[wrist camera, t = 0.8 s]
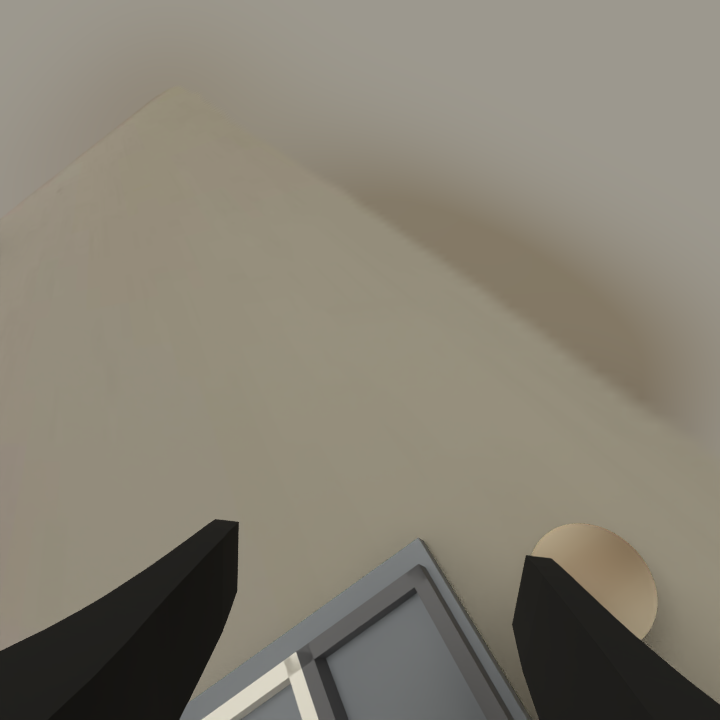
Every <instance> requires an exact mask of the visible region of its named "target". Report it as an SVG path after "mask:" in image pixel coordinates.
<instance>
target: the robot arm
mask: <svg viewBox="0 0 720 720" xmlns="http://www.w3.org/2000/svg"><path fill="white" fill-rule="evenodd" d="M238 529H239V522H235V521H226V520H217V519H215V520H214V521H212V522H211V523H209V524H208V525H206V526H205V527H204V528H202V529H201V530H200V531H198V532H197V533H195V534H194V535H193V536H191V537H190V538H189V539H187V540H186V541H185V542H183V543H182V544H181V545H179V546H178V547H176V548H175V549H174V550H172V551H171V552H169V553H168V554H167V555H165V556H164V557H162V558H161V559H160V560H158V561H157V562H155V563H154V564H153V565H151V566H150V567H148V568H147V569H145V570H144V571H142V572H141V573H139V574H138V575H136V576H135V577H133V578H131V579H130V580H128V581H127V582H125V583H124V584H122V585H121V586H119V587H118V588H116V589H115V590H113V591H112V592H110V593H108V594H107V595H105V596H104V597H102V598H100V599H99V600H97V601H95V602H94V603H92V604H90V605H88V606H87V607H85V608H83V609H82V610H80V611H78V612H76V613H74V614H73V615H71V616H69V617H67V618H65V619H63V620H62V621H60V622H58V623H56V624H54V625H52V626H51V627H49V628H47V629H45V630H43V631H41V632H39V633H37V634H35V635H32V636H30V637H28V638H26V639H24V640H22V641H20V642H18V643H16V644H14V645H12V646H10V647H8V648H6V649H4V650H2V651H0V720H180V718H181V716H182V713H183V711H184V709H185V707H186V705H187V703H188V701H189V699H190V697H191V695H192V693H193V691H194V689H195V687H196V685H197V683H198V681H199V679H200V677H201V675H202V673H203V671H204V669H205V667H206V665H207V663H208V661H209V659H210V657H211V655H212V653H213V651H214V648H215V646H216V644H217V642H218V640H219V638H220V636H221V634H222V632H223V629H224V626H225V624H226V621H227V618H228V615H229V613H230V610H231V607H232V604H233V601H234V599H235V596H236V593H237V578H238ZM512 626H513V630H514V635H515V640H516V644H517V649H518V653H519V657H520V662H521V666H522V670H523V673H524V676H525V679H526V682H527V685H528V688H529V691H530V694H531V697H532V700H533V703H534V706H535V709H536V711H537V714H538V717H539V720H720V704H718V703H717V702H716V701H714V700H713V699H712V698H710V697H709V696H708V695H706V694H705V693H704V692H703V691H701V690H700V689H699V688H697V687H696V686H695V685H694V684H692V683H691V682H690V681H689V680H687V679H686V678H685V677H684V676H682V675H681V674H680V673H679V672H677V671H676V670H675V669H674V668H673V667H671V666H670V665H669V664H668V663H667V662H665V661H664V660H663V659H662V658H661V657H660V656H658V655H657V654H656V653H655V652H654V651H652V650H651V649H650V648H649V647H648V646H647V645H645V644H644V643H643V642H642V641H641V640H640V639H639V638H638V637H636V636H635V635H634V634H633V633H632V632H631V631H630V630H629V629H627V628H626V627H625V626H624V625H623V624H622V623H621V622H620V621H619V620H617V619H616V618H615V617H614V616H613V615H612V614H611V613H610V612H609V611H608V610H607V609H606V608H605V607H603V606H602V605H601V604H600V603H599V602H598V601H597V600H596V599H595V598H594V597H593V596H592V595H591V594H590V593H589V592H588V591H586V590H585V589H584V588H583V587H582V586H581V585H580V584H579V583H578V582H577V581H576V580H575V579H574V578H573V577H572V576H571V575H570V574H568V573H567V572H566V571H565V570H564V569H563V568H562V567H561V566H560V565H559V564H557V563H556V562H555V561H554V560H553V559H552V558H545V557H537V556H528V555H526V558H525V563H524V568H523V573H522V578H521V583H520V588H519V593H518V598H517V603H516V608H515V613H514V618H513V623H512Z"/></svg>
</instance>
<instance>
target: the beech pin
mask: <svg viewBox="0 0 720 720" xmlns="http://www.w3.org/2000/svg"><path fill="white" fill-rule="evenodd" d="M531 556H537V557H545V558H552V559H553V560H554V561H555V562H556V563H557V564H559V565H560V566H561V567H562V568H563V569H564V570H565V571H566V572H567V573H568V574H570V575H571V576H572V577H573V578H574V579H575V580H576V581H577V582H578V583H579V584H580V585H581V586H582V587H583V588H584V589H585V590H586V591H588V592H589V593H590V594H591V595H592V596H593V597H594V598H595V599H596V600H597V601H598V602H599V603H600V604H601V605H602V606H603V607H605V608H606V609H607V610H608V611H609V612H610V613H611V614H612V615H613V616H614V617H615V618H616V619H617V620H619V621H620V622H621V623H622V624H623V625H624V626H625V627H626V628H627V629H629V630H630V631H631V632H632V633H633V634H634V635H635V636H636V637H638V638H639V639H640V640H641V639H642V638H644V637H645V635H646V634H647V633H648V632H649V630H650V629H651V627H652V625H653V623H654V620H655V617H656V613H657V602H658V598H657V590H656V586H655V582H654V579H653V577H652V574H651V572H650V570H649V568H648V566H647V565H646V563H645V562H644V560H643V559H642V557H641V556H640V555H639V554H638V552H637V551H636V550H635V549H634V548H633V547H632V546H631V545H630V544H629V543H627V542H626V541H625V540H624V539H622V538H621V537H619V536H618V535H616V534H615V533H613V532H611V531H609V530H607V529H604V528H601V527H598V526H594V525H590V524H582V523H574V524H567V525H563V526H560V527H557V528H555V529H553V530H551V531H550V532H548V533H547V534H546V535H545V536H543V537H542V538H541V540H540V541H539V542H538V543H537V545H536V546H535V548H534V550H533V553H532V555H531Z"/></svg>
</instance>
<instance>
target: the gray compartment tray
mask: <svg viewBox="0 0 720 720" xmlns="http://www.w3.org/2000/svg"><path fill="white" fill-rule="evenodd" d="M180 720H531V718H530V716H529V715H528V713H527V711H526V710H525V708H524V706H523V705H522V703H521V701H520V700H519V698H518V697H517V695H516V693H515V692H514V690H513V688H512V687H511V685H510V683H509V682H508V680H507V678H506V677H505V675H504V673H503V672H502V670H501V668H500V667H499V665H498V663H497V662H496V660H495V658H494V657H493V655H492V654H491V652H490V650H489V649H488V647H487V645H486V644H485V642H484V640H483V639H482V637H481V635H480V634H479V632H478V630H477V629H476V627H475V625H474V624H473V622H472V620H471V619H470V617H469V615H468V614H467V612H466V611H465V609H464V607H463V606H462V604H461V602H460V601H459V599H458V597H457V596H456V594H455V592H454V591H453V589H452V587H451V586H450V584H449V582H448V581H447V579H446V577H445V576H444V574H443V572H442V571H441V569H440V568H439V566H438V564H437V563H436V561H435V559H434V558H433V556H432V554H431V553H430V551H429V549H428V548H427V546H426V544H425V543H424V541H423V540H421V539H420V538H417V539H415V540H414V541H413V542H411V543H410V544H408V545H407V546H406V547H404V548H403V549H402V550H400V551H399V552H397V553H396V554H395V555H393V556H392V557H390V558H389V559H388V560H386V561H385V562H383V563H382V564H381V565H379V566H378V567H377V568H375V569H374V570H372V571H371V572H370V573H368V574H367V575H365V576H364V577H363V578H361V579H360V580H358V581H357V582H356V583H354V584H353V585H351V586H350V587H349V588H347V589H346V590H345V591H343V592H342V593H340V594H339V595H338V596H336V597H335V598H333V599H332V600H331V601H329V602H328V603H326V604H325V605H324V606H322V607H321V608H319V609H318V610H317V611H315V612H314V613H313V614H311V615H310V616H308V617H307V618H306V619H304V620H303V621H301V622H300V623H299V624H297V625H296V626H294V627H293V628H292V629H290V630H289V631H287V632H286V633H285V634H283V635H282V636H281V637H279V638H278V639H276V640H275V641H274V642H272V643H271V644H269V645H268V646H267V647H265V648H264V649H262V650H261V651H260V652H258V653H257V654H256V655H254V656H253V657H251V658H250V659H249V660H247V661H246V662H244V663H243V664H242V665H240V666H239V667H237V668H236V669H235V670H233V671H232V672H230V673H229V674H228V675H226V676H225V677H224V678H222V679H221V680H219V681H218V682H217V683H215V684H214V685H212V686H211V687H210V688H208V689H207V690H205V691H204V692H203V693H201V694H200V695H198V696H197V697H196V698H194V699H193V700H192V701H190V702H189V703H187V705H186V707H185V709H184V711H183V713H182V716H181V718H180Z"/></svg>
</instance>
